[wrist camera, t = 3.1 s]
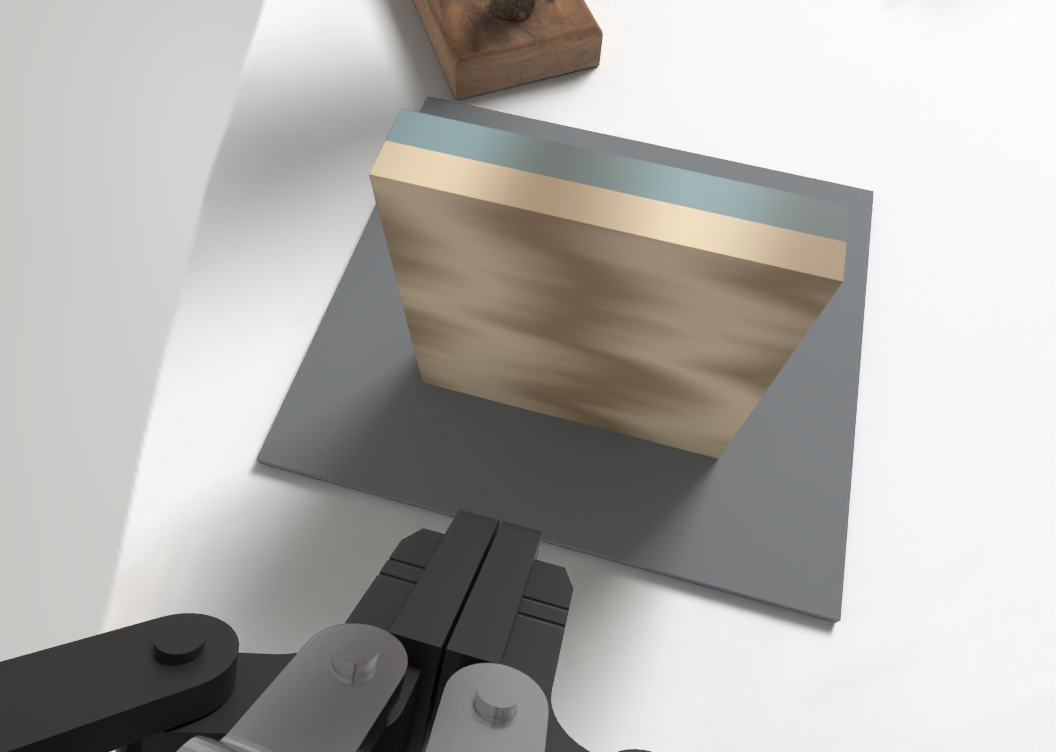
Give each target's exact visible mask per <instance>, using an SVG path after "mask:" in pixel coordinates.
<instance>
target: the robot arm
mask: <svg viewBox="0 0 1056 752" xmlns="http://www.w3.org/2000/svg"><path fill="white" fill-rule="evenodd" d="M499 527H500V528H499ZM542 534H543V532H542V531H539V530H535V529H531V528H528V527H524V526H520V525H517V524H513V523H510V522H506V521H503V522H502V523H501V526H500V520H498V519H495V518H491V517H487V516H484V515H480V514H476V513H473V512H469V511H466V510H462V509H460V510H459V511H458V513H457V515H456V516H455V518H454V520H453V522H452V523H451V525H450V527H449V528H448V530H447V532H446V534H442V533H438V532H434V531H431V530H427V529H424V528H423V529H421V530H419V531H417V532H416V533H414V534H412V535H410V536H408V537H406V538H405V539H403V540H401V542H400V543H399V545H398V546H397V548H396V549H395V551H394V552H393V554H392V555H391V556H390V559H389V561H387V562H386V564H385V565H384V567H383V568H382V570H381V571H380V574H379V576H377V577H376V578H375V580H374V581H373V583H372V584H371V586H370V587H369V589H368V590H367V592H366V593H365V595H364V596H363V598H362V599H361V600H360V602H359V603H358V605H357V606H356V608H355V609H354V611H353V612H352V614H351V615H350V617H349V618H348V620H347V621H346V623H345V624H341V625H336V626H333V627H330V628H327V629H325V630H323V631H320V632H319V633H317V634H316V635H314V636H313V637H312V638H311V639H310V640H309V641H308V642H307V643H306V644H305V645H304V647H303V648H302V649H301V650H300V651H299V652H298V653H293V654H254V653H238V649H239V642H238V637H237V635H236V633H235V631H234V630H233V629H232V628H231V627H230V626H229V625H228V624H226V623H225V622H223V621H221V620H220V619H217V618H214V617H212V616H208V615H203V614H194V613H185V614H174V615H169V616H164V617H160V618H157V619H153V620H150V621H146V622H142V623H139V624H135V625H132V626H128V627H124V628H121V629H117V630H114V631H110V632H106V633H103V634H99V635H96V636H92V637H89V638H85V639H81V640H78V641H74V642H71V643H67V644H63V645H60V646H56V647H53V648H49V649H45V650H42V651H38V652H35V653H31V654H27V655H24V656H20V657H16V658H13V659H9V660H5V661H2V662H0V752H110V751H113V750H115V749H116V752H589V751H588V750H586V749H585V748H583V747H582V746H580V745H579V744H577V743H576V742H575V741H574V740H573V739H572V738H571V737H569V735H568V734H567V733H566V732H565V731H564V730H563V729H562V727H561V726H560V724H559V723H558V721H557V719H556V717H555V715H554V712H553V709H552V705H551V691H552V686H553V682H554V677H555V672H556V667H557V663H558V658H559V653H560V648H561V644H562V639H563V634H564V629H565V625H566V620H567V615H568V610H569V606H570V601H571V596H572V591H573V587H572V585H571V582H570V580H569V577H568V575H567V572H566V570H565V568H563V567H560V566H556V565H553V564H549V563H546V562H542V561H538V560H537V555H538V551H539V547H540V543H541V539H542ZM619 752H650V751H646V750H638V749H630V750H623V751H619Z"/></svg>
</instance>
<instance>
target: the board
mask: <svg viewBox="0 0 1056 752" xmlns="http://www.w3.org/2000/svg"><path fill="white" fill-rule="evenodd" d="M369 176H370V180H371V184H372V187H373V191H374V195H375V199H376V203H377V207H378V211H379V215H380V219H381V223H382V226H383V230H384V234H385V238H386V242H387V246H388V250H389V254H390V258H391V261H392V265H393V269H394V273H395V277H396V281H397V285H398V289H399V293H400V297H401V300H402V304H403V308H404V312H405V316H406V320H407V324H408V328H409V332H410V336H411V339H412V343H413V347H414V351H415V355H416V359H417V363H418V367H419V371H420V375H421V378H422V382H423V383H426V384H430V385H434V386H438V387H442V388H446V389H449V390H453V391H457V392H461V393H465V394H469V395H473V396H477V397H481V398H484V399H488V400H492V401H496V402H500V403H504V404H508V405H512V406H516V407H519V408H523V409H527V410H531V411H535V412H539V413H543V414H547V415H551V416H554V417H558V418H562V419H566V420H570V421H574V422H578V423H582V424H586V425H589V426H593V427H597V428H601V429H605V430H609V431H613V432H617V433H621V434H624V435H628V436H632V437H636V438H640V439H644V440H648V441H652V442H656V443H659V444H663V445H667V446H671V447H675V448H679V449H683V450H687V451H690V452H694V453H698V454H702V455H706V456H710V457H714V458H718V459H719V457H720V456H721V455H722V453H723V452H724V450H725V449H726V448H727V446H728V445H729V443H730V442H731V440H732V439H733V438H734V436H735V435H736V433H737V432H738V430H739V429H740V428H741V426H742V425H743V423H744V422H745V420H746V419H747V418H748V416H749V415H750V413H751V412H752V410H753V409H754V408H755V406H756V405H757V403H758V402H759V401H760V399H761V398H762V396H763V395H764V393H765V392H766V391H767V389H768V388H769V386H770V385H771V383H772V382H773V381H774V379H775V378H776V376H777V375H778V373H779V372H780V371H781V369H782V368H783V366H784V365H785V363H786V362H787V361H788V359H789V358H790V356H791V355H792V354H793V352H794V351H795V349H796V348H797V346H798V345H799V344H800V342H801V341H802V339H803V338H804V336H805V335H806V334H807V332H808V331H809V329H810V328H811V326H812V325H813V324H814V322H815V321H816V319H817V318H818V316H819V315H820V314H821V312H822V311H823V309H824V308H825V307H826V305H827V304H828V302H829V301H830V299H831V298H832V297H833V295H834V294H835V292H836V291H837V289H838V288H839V287H840V285H841V284H842V282H843V277H844V266H845V256H846V245H847V234H848V224H849V213H850V205H846V204H841V203H837V202H832V201H827V200H823V199H818V198H814V197H809V196H804V195H800V194H795V193H790V192H786V191H781V190H776V189H772V188H767V187H762V186H758V185H753V184H749V183H744V182H739V181H735V180H730V179H725V178H721V177H716V176H711V175H707V174H702V173H697V172H693V171H688V170H684V169H679V168H674V167H670V166H665V165H660V164H656V163H651V162H646V161H642V160H637V159H633V158H628V157H623V156H619V155H614V154H609V153H605V152H600V151H595V150H591V149H586V148H581V147H577V146H572V145H568V144H563V143H558V142H554V141H549V140H544V139H540V138H535V137H530V136H526V135H521V134H516V133H512V132H507V131H503V130H498V129H493V128H489V127H484V126H479V125H475V124H470V123H465V122H461V121H456V120H452V119H447V118H442V117H438V116H433V115H428V114H424V113H419V112H414V111H410V110H405V109H401V110H400V112H399V114H398V116H397V118H396V120H395V122H394V124H393V126H392V128H391V130H390V132H389V134H388V136H387V139H386V141H385V143H384V145H383V147H382V149H381V151H380V153H379V155H378V157H377V159H376V161H375V163H374V165H373V167H372V169H371V171H370V173H369Z"/></svg>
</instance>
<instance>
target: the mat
mask: <svg viewBox="0 0 1056 752" xmlns="http://www.w3.org/2000/svg"><path fill="white" fill-rule="evenodd" d="M420 113H424V114H428V115H433V116H438V117H442V118H447V119H452V120H456V121H461V122H465V123H470V124H475V125H479V126H484V127H489V128H493V129H498V130H503V131H507V132H512V133H516V134H521V135H526V136H530V137H535V138H540V139H544V140H549V141H554V142H558V143H563V144H568V145H572V146H577V147H581V148H586V149H591V150H595V151H600V152H605V153H609V154H614V155H619V156H623V157H628V158H633V159H637V160H642V161H646V162H651V163H656V164H660V165H665V166H670V167H674V168H679V169H684V170H688V171H693V172H697V173H702V174H707V175H711V176H716V177H721V178H725V179H730V180H735V181H739V182H744V183H749V184H753V185H758V186H762V187H767V188H772V189H776V190H781V191H786V192H790V193H795V194H800V195H804V196H809V197H814V198H818V199H823V200H827V201H832V202H837V203H841V204H846V205H850V213H849V224H848V234H847V245H846V256H845V266H844V277H843V282H842V284H841V285H840V287H839V288H838V289H837V291H836V292H835V294H834V295H833V297H832V298H831V299H830V301H829V302H828V304H827V305H826V307H825V308H824V309H823V311H822V312H821V314H820V315H819V316H818V318H817V319H816V321H815V322H814V324H813V325H812V326H811V328H810V329H809V331H808V332H807V334H806V335H805V336H804V338H803V339H802V341H801V342H800V344H799V345H798V346H797V348H796V349H795V351H794V352H793V354H792V355H791V356H790V358H789V359H788V361H787V362H786V363H785V365H784V366H783V368H782V369H781V371H780V372H779V373H778V375H777V376H776V378H775V379H774V381H773V382H772V383H771V385H770V386H769V388H768V389H767V391H766V392H765V393H764V395H763V396H762V398H761V399H760V401H759V402H758V403H757V405H756V406H755V408H754V409H753V410H752V412H751V413H750V415H749V416H748V418H747V419H746V420H745V422H744V423H743V425H742V426H741V428H740V429H739V430H738V432H737V433H736V435H735V436H734V438H733V439H732V440H731V442H730V443H729V445H728V446H727V448H726V449H725V450H724V452H723V453H722V455H721V456H720V457H719V459H718V458H714V457H710V456H706V455H702V454H698V453H694V452H690V451H687V450H683V449H679V448H675V447H671V446H667V445H663V444H659V443H656V442H652V441H648V440H644V439H640V438H636V437H632V436H628V435H624V434H621V433H617V432H613V431H609V430H605V429H601V428H597V427H593V426H589V425H586V424H582V423H578V422H574V421H570V420H566V419H562V418H558V417H554V416H551V415H547V414H543V413H539V412H535V411H531V410H527V409H523V408H519V407H516V406H512V405H508V404H504V403H500V402H496V401H492V400H488V399H484V398H481V397H477V396H473V395H469V394H465V393H461V392H457V391H453V390H449V389H446V388H442V387H438V386H434V385H430V384H426V383H423V382H422V378H421V375H420V371H419V367H418V363H417V359H416V355H415V351H414V347H413V343H412V339H411V336H410V332H409V328H408V324H407V320H406V316H405V312H404V308H403V304H402V300H401V297H400V293H399V289H398V285H397V281H396V277H395V273H394V269H393V265H392V261H391V258H390V254H389V250H388V246H387V242H386V238H385V234H384V230H383V226H382V223H381V219H380V215H379V211H378V207H377V205H376V207H375V209H374V211H373V213H372V216H371V218H370V220H369V222H368V224H367V226H366V228H365V230H364V233H363V235H362V237H361V239H360V241H359V243H358V245H357V247H356V249H355V252H354V254H353V256H352V258H351V260H350V262H349V264H348V266H347V269H346V271H345V273H344V275H343V277H342V279H341V281H340V283H339V285H338V288H337V290H336V292H335V294H334V296H333V298H332V300H331V302H330V305H329V307H328V309H327V311H326V313H325V315H324V317H323V319H322V322H321V324H320V326H319V328H318V330H317V332H316V334H315V336H314V338H313V341H312V343H311V345H310V347H309V349H308V351H307V353H306V355H305V358H304V360H303V362H302V364H301V366H300V368H299V370H298V372H297V374H296V377H295V379H294V381H293V383H292V385H291V387H290V389H289V391H288V394H287V396H286V398H285V400H284V402H283V404H282V406H281V408H280V410H279V413H278V415H277V417H276V419H275V421H274V423H273V425H272V427H271V430H270V432H269V434H268V436H267V438H266V440H265V442H264V444H263V446H262V449H261V451H260V453H259V455H258V457H257V460H258V461H259V463H262V464H266V465H269V466H273V467H277V468H280V469H284V470H287V471H291V472H295V473H298V474H302V475H305V476H309V477H313V478H316V479H320V480H324V481H327V482H331V483H334V484H338V485H342V486H345V487H349V488H352V489H356V490H360V491H363V492H367V493H370V494H374V495H378V496H381V497H385V498H389V499H392V500H396V501H399V502H403V503H407V504H410V505H414V506H417V507H421V508H425V509H428V510H432V511H436V512H439V513H443V514H446V515H450V516H454V517H455V516H456V515H457V513H458V511H459V510H460V509H462V510H466V511H469V512H473V513H476V514H480V515H484V516H487V517H491V518H495V519H498V520H500V526H501V523H502V522H503V521H506V522H510V523H513V524H517V525H520V526H524V527H528V528H531V529H535V530H539V531H542V532H543V534H542V539H541V541H544V542H548V543H551V544H555V545H558V546H562V547H566V548H569V549H573V550H576V551H580V552H584V553H587V554H591V555H595V556H598V557H602V558H605V559H609V560H613V561H616V562H620V563H623V564H627V565H631V566H634V567H638V568H642V569H645V570H649V571H652V572H656V573H660V574H663V575H667V576H670V577H674V578H678V579H681V580H685V581H689V582H692V583H696V584H699V585H703V586H707V587H710V588H714V589H717V590H721V591H725V592H728V593H732V594H735V595H739V596H743V597H746V598H750V599H754V600H757V601H761V602H764V603H768V604H772V605H775V606H779V607H782V608H786V609H790V610H793V611H797V612H801V613H804V614H808V615H811V616H815V617H819V618H822V619H826V620H829V621H833V622H838V621H840V618H841V605H842V592H843V579H844V566H845V553H846V540H847V527H848V514H849V501H850V488H851V475H852V462H853V450H854V437H855V424H856V411H857V398H858V385H859V372H860V359H861V346H862V333H863V320H864V307H865V294H866V281H867V268H868V255H869V242H870V230H871V217H872V204H873V191H869V190H864V189H860V188H855V187H850V186H845V185H841V184H836V183H831V182H827V181H822V180H817V179H813V178H808V177H803V176H798V175H794V174H789V173H784V172H780V171H775V170H770V169H766V168H761V167H756V166H751V165H747V164H742V163H737V162H733V161H728V160H723V159H719V158H714V157H709V156H704V155H700V154H695V153H690V152H686V151H681V150H676V149H672V148H667V147H662V146H657V145H653V144H648V143H643V142H639V141H634V140H629V139H624V138H620V137H615V136H610V135H606V134H601V133H596V132H592V131H587V130H582V129H577V128H573V127H568V126H563V125H559V124H554V123H549V122H545V121H540V120H535V119H530V118H526V117H521V116H516V115H512V114H507V113H502V112H498V111H493V110H488V109H483V108H479V107H474V106H469V105H465V104H460V103H455V102H451V101H446V100H441V99H436V98H432V97H427V99H426V101H425V103H424V105H423V108H422V110H421V112H420ZM499 528H500V527H499Z"/></svg>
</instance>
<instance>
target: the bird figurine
mask: <svg viewBox="0 0 1056 752" xmlns="http://www.w3.org/2000/svg"><path fill="white" fill-rule="evenodd" d="M413 2H414V4H415V7H416V9H417V11H418V14H419V16H420V18H421V21H422V23H423V25H424V28H425V30H426V32H427V35H428V37H429V39H430V42H431V44H432V46H433V49H434V51H435V53H436V56H437V58H438V60H439V63H440V65H441V68H442V70H443V72H444V75H445V77H446V79H447V82H448V84H449V86H450V89H451V91H452V93H453V96H454V98H455V100H460V99H464V98H468V97H472V96H476V95H480V94H484V93H488V92H492V91H496V90H501V89H505V88H509V87H513V86H517V85H521V84H525V83H529V82H533V81H537V80H541V79H545V78H550V77H554V76H558V75H562V74H566V73H570V72H574V71H578V70H582V69H586V68H590V67H594V66H599V62H600V53H601V45H602V36H603V34H602V31H601V29H600V27H599V25H598V24H597V22H596V20H595V19H594V17H593V15H592V13H591V12H590V10H589V8H588V7H587V5H586V3H585V2H584V0H413Z"/></svg>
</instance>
